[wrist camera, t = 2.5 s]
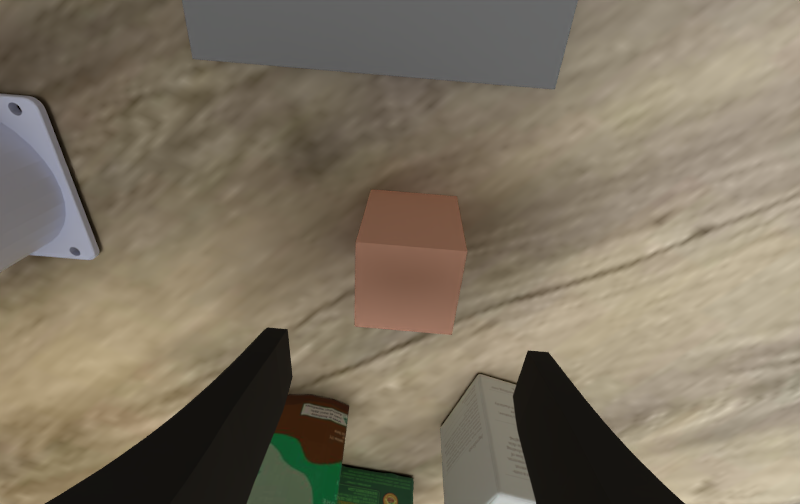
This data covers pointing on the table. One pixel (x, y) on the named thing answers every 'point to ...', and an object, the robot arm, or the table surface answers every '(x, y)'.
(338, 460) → the food container
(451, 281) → the block
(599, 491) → the robot arm
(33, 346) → the table surface
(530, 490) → the product box
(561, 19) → the mat
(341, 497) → the coffee box
